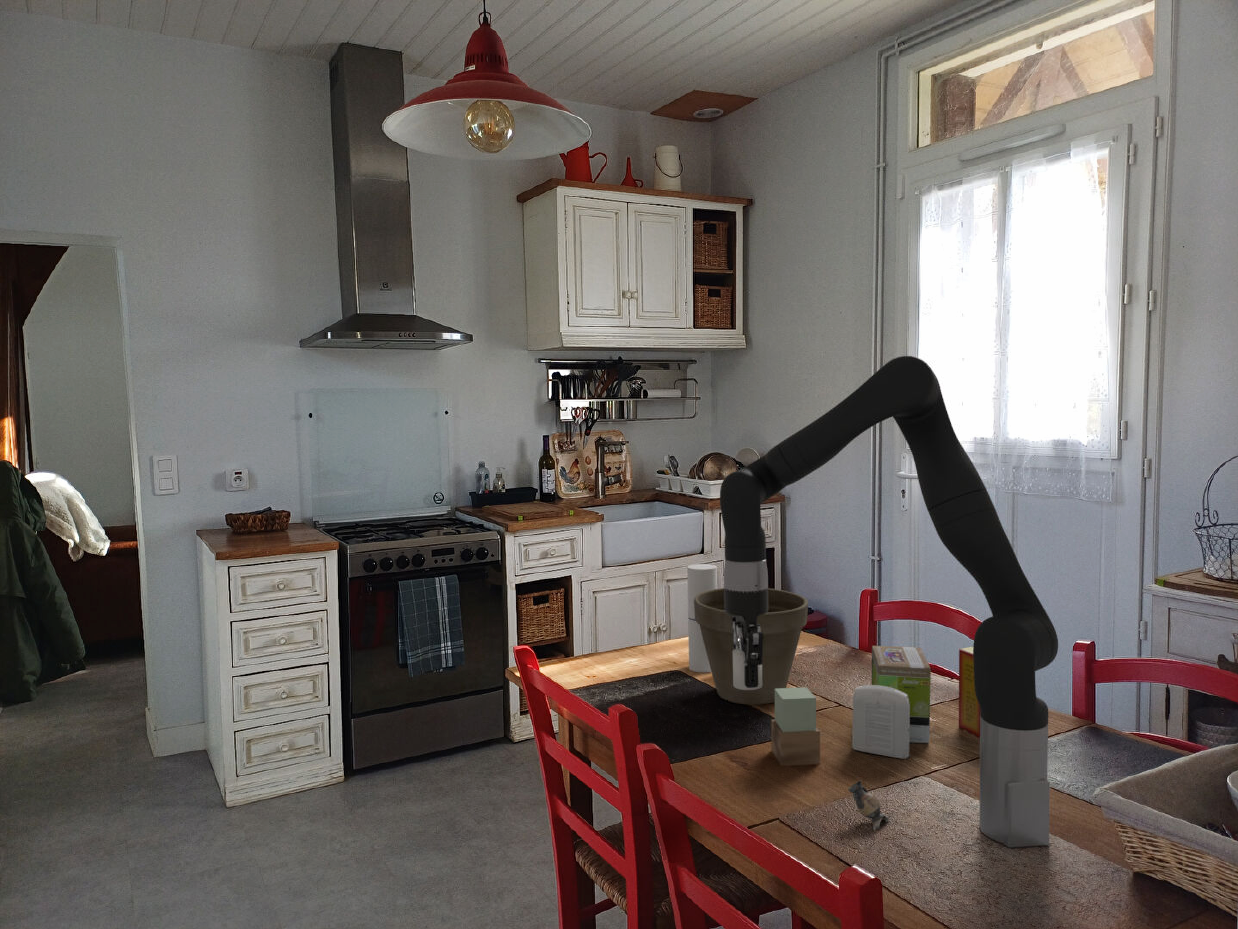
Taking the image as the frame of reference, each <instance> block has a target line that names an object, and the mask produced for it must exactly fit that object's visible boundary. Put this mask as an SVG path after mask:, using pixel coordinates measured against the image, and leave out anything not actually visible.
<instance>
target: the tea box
mask: <svg viewBox="0 0 1238 929" xmlns="http://www.w3.org/2000/svg"><path fill="white" fill-rule="evenodd" d="M931 672H932V670H931V667H930V664H929V662H928V660H927V658H926V656H925V654H924V651H923V650H922V648H921V647H912V646H911V647H910V646H909V647H908V646H891V645H889V646H887V645H872V646H871V684H870V685H879V686H886V687H890V688H894V689H896V690H899V691H901V692H904V693H905V694H907V695H908V698H909V704H910V729H909V743H914V744H915V743H919V744H921V743H922V744H929V742H930V731H931V730H930V726H931V724H930V719H931V680H932V679H931V678H932V675H931Z"/></svg>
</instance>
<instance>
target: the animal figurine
mask: <svg viewBox="0 0 1238 929" xmlns="http://www.w3.org/2000/svg"><path fill="white" fill-rule="evenodd" d="M847 790H848V792H850V793H852V798H853V800H854V802H855V807H856V809H857V810H858V812H859V813H860V814H861V815H862V816H863V817H865V818H868V819H871V823H872V826H869V827H868V829H867V828H866V827H864V830H868V831H869V830H870V829H872V830H874V832H876V830H877V829H878V830H879V829H880V825H881V823H882V821H884V822H885V823H888V822H889V821H890V819H889V817H887V815H886V814H884V813H881V803H880V800H879V799H878V798H877V796H876V795H875V794H873V793H871V792H869V791H868V789H867V788H866V787H865V786H863V784H862V782H861V781H860V780H858V781H856V782H855V783H854V784H852V785H851V786H850V787H848V788H847ZM888 815H890V813H888Z"/></svg>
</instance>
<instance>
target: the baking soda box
mask: <svg viewBox="0 0 1238 929" xmlns="http://www.w3.org/2000/svg"><path fill="white" fill-rule="evenodd" d="M958 728H960V729H962V730H963V731H965V732H968V733H970V734H972V735H973V736H975V737H977V738H979V739H980V705H979V703H978V700H977V698H976V694H975V686H974V663H973V646H969V647H963V648H959V650H958Z"/></svg>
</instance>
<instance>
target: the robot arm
mask: <svg viewBox="0 0 1238 929" xmlns="http://www.w3.org/2000/svg"><path fill="white" fill-rule="evenodd" d="M889 418H893V419H894V421H895V422H896V424H897V426H898V428H899V430H900V432H901V433H902V435H903V437H904V440H905V442H906V443H907V445H908V448H909V449H910V453H911V455H912V457H913V462H914V466H915V471H916V475H917V480H918V483H919V484H918V485H919V488H920V491H921V496H922V498H923V500H924V501H923V502H924V505H925V507H926V509H927V512H928V515H929V517H930V520H931V522H932V524H933V527H934V528H935V531H936V533H937V535H938V537H939V540H940V541H941V543H942V544H943V545H944V546H945V548H946V550H948V551H949V553H950V554H951V555H952V556H953V558H955V559H956V560H957V561H958V563H959V564H960V565H961V566H962V567H963V568H964V569H965V570H966V571H967V572H968V573H969V575H971V577H973V579H974V581H976V583H977V585H978V587H979V588H980V589H981V592H982V593H983V595H984V598H985V600H986V603H987V605H988V607H989V610H990V612H991V615H992V616H990V617H988V618H986V619H984V620H982V622H981V623H980V624H979V625H978V627H977V628H976V631H975V635H974V638H973V646H972V647H973V663H974V686H975V694H976V698H977V700H978V703H979V705H980V738H979V829H980V831H981V832H982V834H984V835H985V836H987V838H989V839H991V840H993V841H995V842H999V843H1001V844H1004V845H1005V846H1006V847H1007V848H1023V847H1025V848H1026V847H1039V846H1049V845H1050V798H1051V797H1050V788H1051V786H1050V784H1051V783H1050V781H1049V780H1048V754H1049V753H1048V751H1049V749H1048V748H1049V747H1048V745H1049V707H1048V705H1047V702H1045V701H1044V700H1042V698H1039V697H1037V691H1036V690H1037V689H1036V672H1037V671H1039V670H1041V669H1044V668H1046V667H1048V666H1050V665H1051V663H1052V662H1054V660H1055V658H1056V657H1057V655H1058V651H1059V638H1058V635H1057V632H1056V627H1055V626H1054V625H1053V622H1052V620H1051V618H1050V617H1049V615H1048V613H1047V611H1046V610H1045V608H1044V606H1043V605H1042V603H1041V601H1040V600H1039V598H1038V596H1037V594H1036V593H1035V590H1034V589H1033V587H1032V585H1031V583H1030V582H1029V580H1028V578H1027V576H1026V575H1025V573H1024V571H1023V569H1022V567H1021V564H1020V563H1019V562H1020V561H1019V560H1018V557H1017V555H1016V553H1015V550H1014V548H1013V546H1012V544H1011V541H1010V540H1009V538H1008V536H1007V534H1006V532H1005V530H1004V527H1003V525H1002V522H1001V520H1000V517H999V515H998V512H997V509H996V508H995V505H994V502H993V501H992V498H991V496H990V494H989V491H988V490H987V487H986V485H985V484H984V481H983V479H982V478H981V476H980V474H979V472H978V470H977V468H976V467H975V465H974V463H973V461H972V460H971V458H970V457H969V455H968V454H967V452H966V450H965V448H964V447H963V445H962V443H961V442H960V441H959V439H958V436H957V434H956V432H955V429H954V427H953V424H952V422H951V418H950V415H949V413H948V410H947V406H946V403H945V399H944V396H943V393H942V389H941V386H940V382H939V380H938V377H937V376H936V374H935V372H934V371H933V369H932V367H931V366H930V365H929V364H928V363H927V362H925V361H924V360H923V359H921V358H919V357H917V356H914V355H901V356H900V355H899V356H897V357H894V358H892V359H890V360H889V361H888V362H886V363H885V364H884V365H882V366H881V367H880V368H879V369H878V370H877V371H875V373H873V374H872V375H871V376H870V377H869V378H868V379H867V380H865V381H864V382H863V383H862V384H861V385H860V386H859V387H858V388H856V390H854V391H853V392H852V393H850V394H849V395H848V396H847V397H846V398H844V399H843V400H842V401H840V402H839V403H838V404H836V405H835V406H834V407H832V408H831V409H829V411H827V412H825V413H824V414H822V415H821V416H819V417H818V418H817V419H815V420H814V421H812V422H811V423H809V424H807V425H806V426H804V427H803V428H801V429H799V430H798V431H797V432H794V433H793V434H792V435H790V436H789V437H787V438H784V440H782V441H781V442H779V443H778V444H776V445H774V446H773V447H772V448H771V449H769V450H768V452H767V453H766V454H764V455H763V456H761V457H760V458H757V459H756V460H754V461H752V462H751V463H749V464H748V465H746V466H743V467H742V468H740V469H738V470H736V471H732V472H731V473H729V474H728V475H726V477H725V478H723V480H722V483H721V486H720V491H719V502H720V503H719V505H720V513H721V519H722V526H723V529H724V566H723V588H724V608H725V611H726V612H727V613H728V614H731V615H735V616H732V618H731V621H732V631H733V648H734V649H738V648H740V651H741V652H742V653H743V658H744V662H743V663H744V676H745V686H746V687H747V688H754V687H757V686H758V666H759V665H762V651H763V633H762V632H761V629H760V624H758V623H757V617H758V616H759V615H763V614H765V613H767V612H768V588H769V575H768V574H769V572H768V566H767V545H766V544H767V540H766V532H765V529H764V528H763V527H762V511H761V507H762V506H761V505H762V504H763V503H764V502H766V501H767V500H768V499H770V498H773V496H775V495H777V494H778V493H779V492H781V490H783V489H785V488H786V487H787V486H790V485H792V484H795V483H797V482H799V481H800V480H801V479H803V478H805V477H807V476H808V475H810V474H812V473H813V472H815V471H817V470H818V469H820V468H821V467H822V466H824V465H825V464H828V462H829V461H831V460H832V459H834V458H835V457H836V456H837V455H838V454H839V453H841V452H842V451H843V449H845V448H846V447H847V446H848V445H849V444H850V443H851V442H853V441H854V440H855V439H856V438H857V437H859V436H860V435H861V434H863V433H864V432H865V431H867V430H869V429H870V428H872V427H873V426H876V425H878V424H879V423H881V422H883V421H885V420H888V419H889ZM738 637H739V638H738ZM752 653H754V655H755V658H751V654H752Z"/></svg>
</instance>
